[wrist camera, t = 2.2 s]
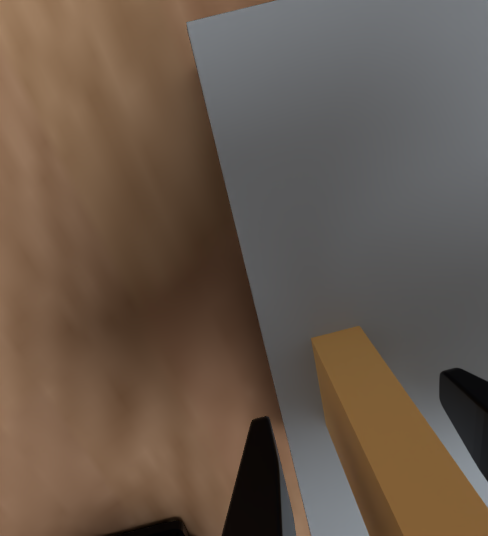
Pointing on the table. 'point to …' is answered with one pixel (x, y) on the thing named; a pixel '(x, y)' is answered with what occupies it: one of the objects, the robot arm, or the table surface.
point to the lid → (362, 241)
